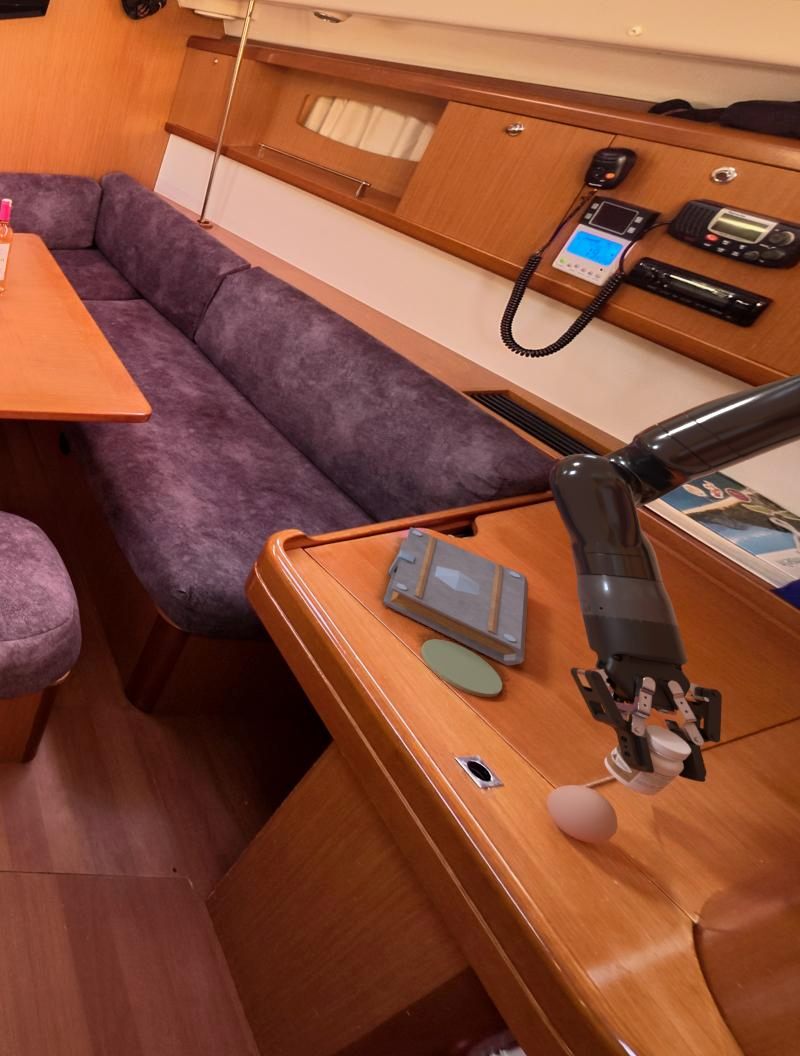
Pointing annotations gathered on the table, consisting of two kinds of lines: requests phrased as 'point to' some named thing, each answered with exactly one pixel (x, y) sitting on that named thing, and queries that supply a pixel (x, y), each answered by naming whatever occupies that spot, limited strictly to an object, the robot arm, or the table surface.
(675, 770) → the pill bottle
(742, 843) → the table surface
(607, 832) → the egg
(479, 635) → the book
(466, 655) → the coaster
